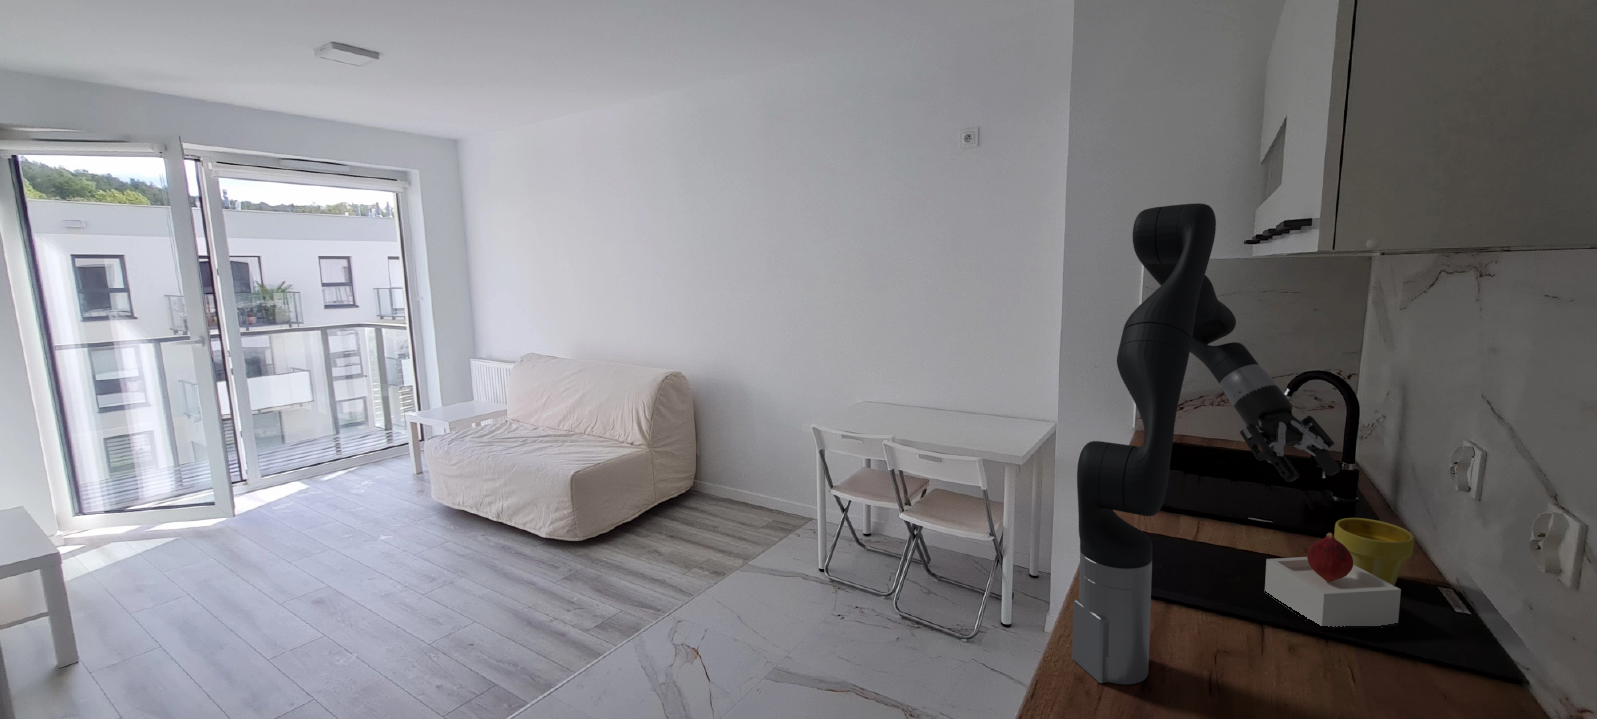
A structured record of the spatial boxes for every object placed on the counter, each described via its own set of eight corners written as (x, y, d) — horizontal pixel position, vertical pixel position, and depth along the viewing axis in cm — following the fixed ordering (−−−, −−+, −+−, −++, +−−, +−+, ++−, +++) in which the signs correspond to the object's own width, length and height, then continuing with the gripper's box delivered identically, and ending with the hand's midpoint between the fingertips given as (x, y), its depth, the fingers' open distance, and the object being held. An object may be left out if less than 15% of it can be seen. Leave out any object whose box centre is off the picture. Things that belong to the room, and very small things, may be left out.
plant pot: (1419, 601, 107) (1425, 545, 105) (1340, 589, 111) (1344, 536, 110) (1396, 573, 116) (1401, 521, 114) (1324, 564, 121) (1327, 514, 119)
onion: (1361, 589, 102) (1363, 540, 101) (1320, 587, 103) (1322, 539, 102) (1337, 575, 108) (1339, 528, 107) (1298, 573, 109) (1300, 526, 108)
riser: (1321, 632, 100) (1324, 593, 99) (1264, 594, 112) (1266, 558, 111) (1397, 628, 100) (1400, 589, 99) (1332, 590, 112) (1335, 555, 111)
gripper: (1236, 387, 111) (1297, 471, 102) (1301, 379, 115) (1366, 460, 105) (1208, 411, 117) (1264, 492, 108) (1271, 403, 120) (1330, 481, 111)
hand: (1314, 476), depth 107 cm, fingers open, 8 cm apart
